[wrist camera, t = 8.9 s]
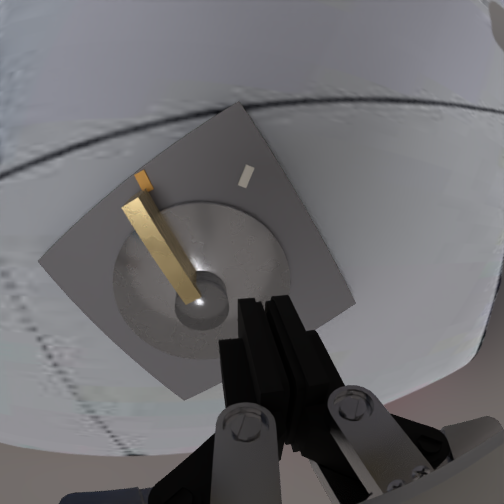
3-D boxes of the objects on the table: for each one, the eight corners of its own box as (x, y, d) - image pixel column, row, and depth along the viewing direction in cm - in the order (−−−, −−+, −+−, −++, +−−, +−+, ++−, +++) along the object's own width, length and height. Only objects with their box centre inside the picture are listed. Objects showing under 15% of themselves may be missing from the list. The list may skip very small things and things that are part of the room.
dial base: (236, 102, 26) (239, 100, 24) (349, 294, 37) (357, 304, 35) (44, 253, 29) (36, 262, 26) (184, 390, 39) (184, 402, 37)
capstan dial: (310, 311, 34) (324, 335, 30) (176, 372, 35) (175, 400, 31) (229, 141, 26) (234, 144, 21) (68, 236, 26) (50, 255, 22)
